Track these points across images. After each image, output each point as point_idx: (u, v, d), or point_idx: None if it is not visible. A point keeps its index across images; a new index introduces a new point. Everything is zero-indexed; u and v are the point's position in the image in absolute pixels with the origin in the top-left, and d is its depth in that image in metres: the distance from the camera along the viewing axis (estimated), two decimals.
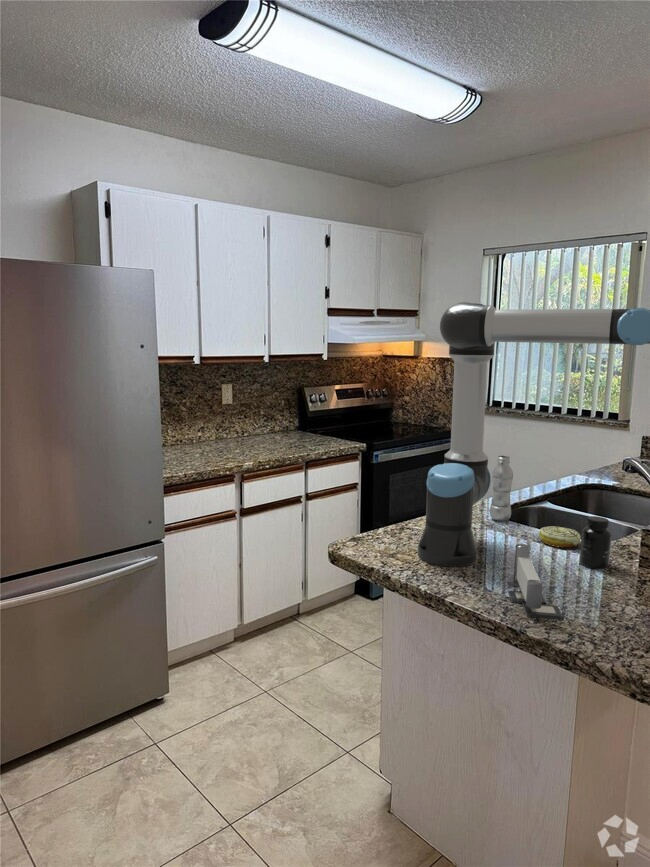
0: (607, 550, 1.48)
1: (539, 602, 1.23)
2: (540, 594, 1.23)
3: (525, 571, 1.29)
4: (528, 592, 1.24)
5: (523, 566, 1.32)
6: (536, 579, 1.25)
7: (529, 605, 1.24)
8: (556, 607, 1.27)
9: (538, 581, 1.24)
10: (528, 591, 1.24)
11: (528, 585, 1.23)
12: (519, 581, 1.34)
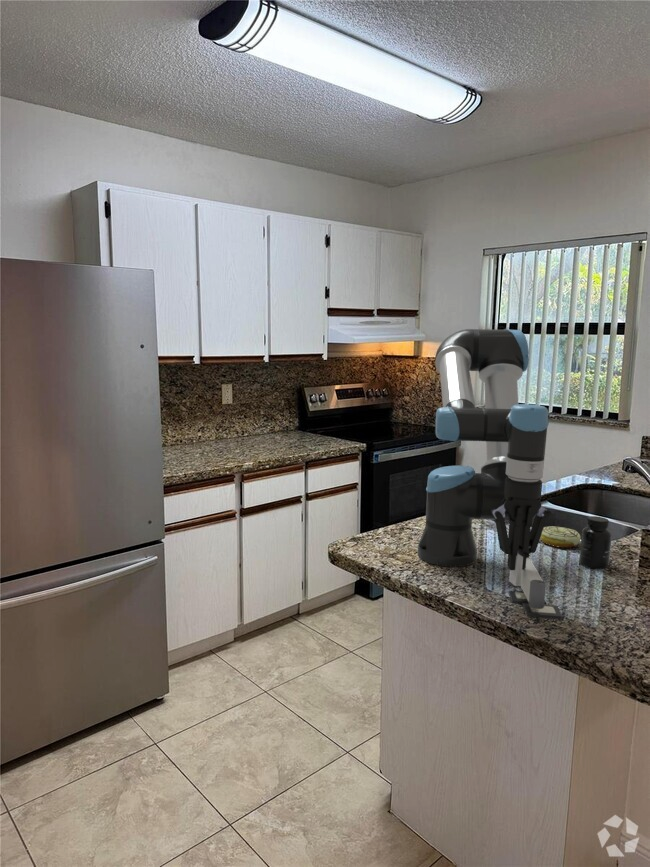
0: (607, 550, 1.48)
1: (542, 602, 1.23)
2: (543, 594, 1.23)
3: (527, 571, 1.29)
4: (531, 592, 1.23)
5: None
6: (538, 580, 1.25)
7: (532, 605, 1.23)
8: (556, 607, 1.27)
9: (541, 581, 1.24)
10: (531, 591, 1.23)
11: (531, 585, 1.23)
12: None
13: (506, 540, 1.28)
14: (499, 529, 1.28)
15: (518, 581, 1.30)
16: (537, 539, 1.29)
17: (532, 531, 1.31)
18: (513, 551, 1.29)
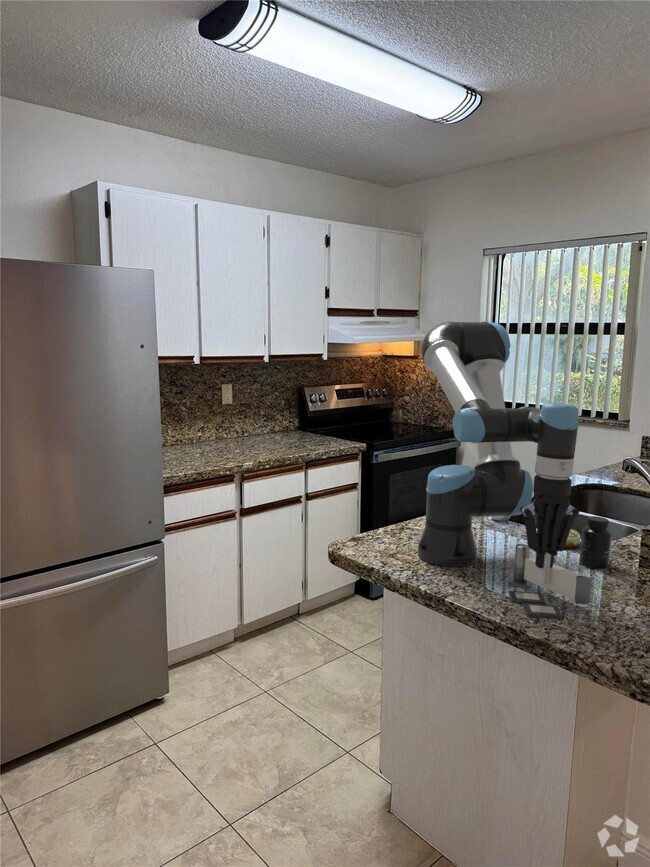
0: (607, 550, 1.48)
1: (589, 596, 1.26)
2: (590, 588, 1.26)
3: (557, 570, 1.30)
4: (582, 589, 1.25)
5: None
6: (579, 575, 1.27)
7: (583, 602, 1.25)
8: (556, 607, 1.27)
9: (583, 576, 1.27)
10: (581, 588, 1.25)
11: (581, 583, 1.25)
12: (538, 581, 1.34)
13: (535, 538, 1.29)
14: (528, 527, 1.29)
15: (546, 579, 1.31)
16: (565, 537, 1.30)
17: (560, 529, 1.31)
18: (542, 549, 1.30)
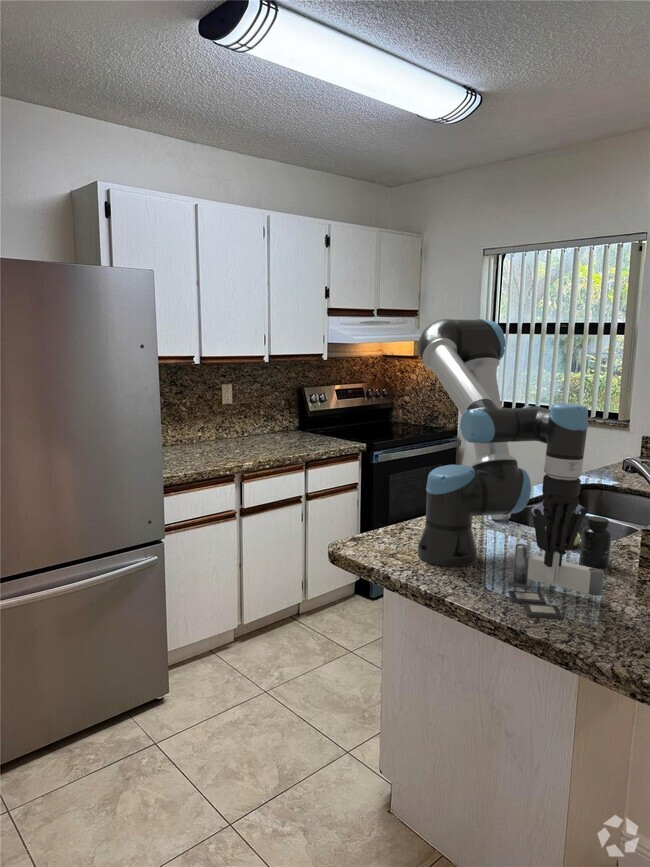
0: (607, 550, 1.48)
1: None
2: None
3: (567, 566, 1.33)
4: (597, 582, 1.29)
5: None
6: (589, 568, 1.31)
7: (598, 593, 1.29)
8: (556, 607, 1.27)
9: (593, 569, 1.31)
10: (597, 581, 1.29)
11: (597, 575, 1.29)
12: (545, 579, 1.36)
13: (544, 537, 1.30)
14: (537, 526, 1.30)
15: (555, 577, 1.32)
16: (574, 536, 1.31)
17: (568, 528, 1.33)
18: (551, 548, 1.31)
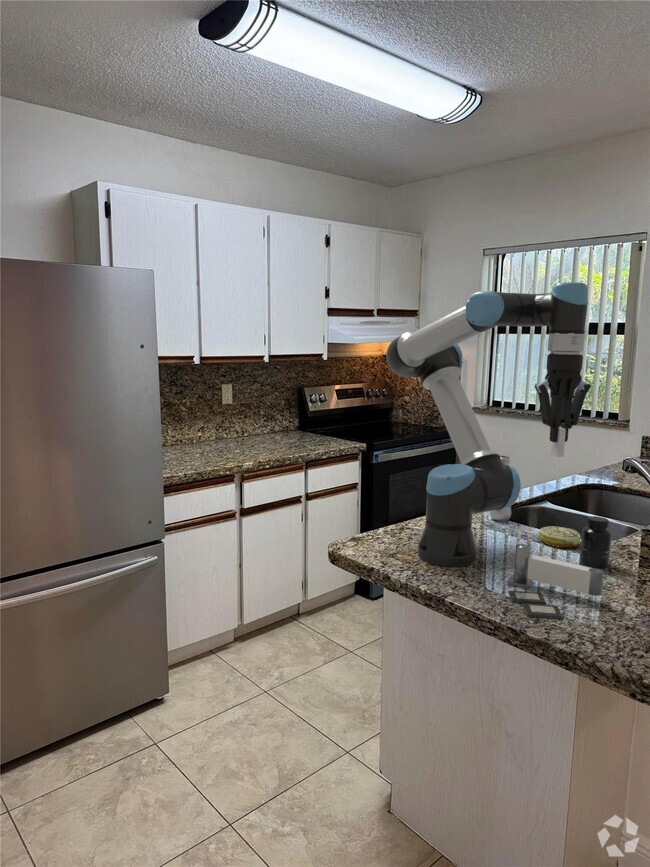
0: (607, 550, 1.48)
1: None
2: None
3: (567, 566, 1.33)
4: (597, 582, 1.29)
5: (554, 563, 1.34)
6: (589, 568, 1.31)
7: (598, 594, 1.29)
8: (556, 607, 1.27)
9: (593, 569, 1.31)
10: (597, 581, 1.29)
11: (597, 575, 1.29)
12: (545, 579, 1.36)
13: (549, 412, 1.36)
14: (543, 402, 1.37)
15: (561, 452, 1.39)
16: (578, 412, 1.38)
17: (573, 405, 1.39)
18: (556, 423, 1.37)
